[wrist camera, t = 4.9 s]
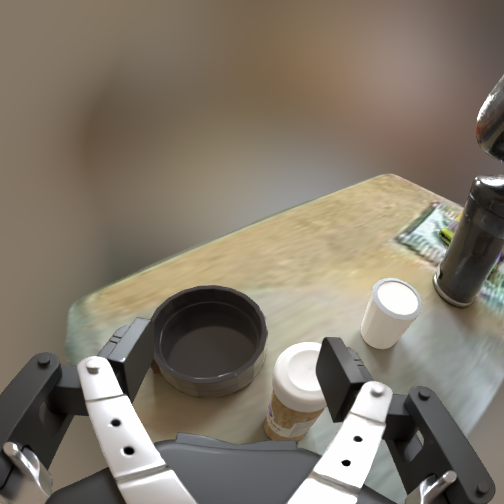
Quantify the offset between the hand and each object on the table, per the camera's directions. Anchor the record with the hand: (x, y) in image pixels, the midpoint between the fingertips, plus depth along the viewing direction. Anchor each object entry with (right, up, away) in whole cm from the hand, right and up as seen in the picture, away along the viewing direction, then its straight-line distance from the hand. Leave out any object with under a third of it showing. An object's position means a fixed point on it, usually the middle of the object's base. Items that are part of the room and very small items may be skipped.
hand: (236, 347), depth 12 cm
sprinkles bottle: (+4, -14, +12) cm, 18 cm away
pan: (-4, -7, +19) cm, 21 cm away
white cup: (+18, -7, +21) cm, 28 cm away
